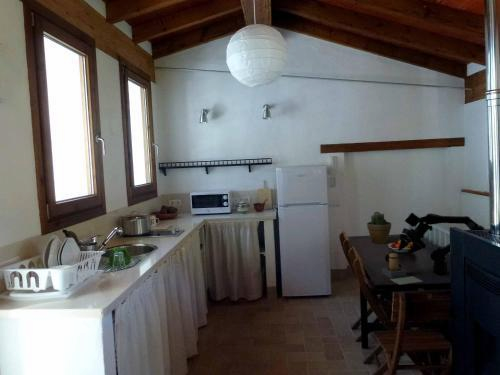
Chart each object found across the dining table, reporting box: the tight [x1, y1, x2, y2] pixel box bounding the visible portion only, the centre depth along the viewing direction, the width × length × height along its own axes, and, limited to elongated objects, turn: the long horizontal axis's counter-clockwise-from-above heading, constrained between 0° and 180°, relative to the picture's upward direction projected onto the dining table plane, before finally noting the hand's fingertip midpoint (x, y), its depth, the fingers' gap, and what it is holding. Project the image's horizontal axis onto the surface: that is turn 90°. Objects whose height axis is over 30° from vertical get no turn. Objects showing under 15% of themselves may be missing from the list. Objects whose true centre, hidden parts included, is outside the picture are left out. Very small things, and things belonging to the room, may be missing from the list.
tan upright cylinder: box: [388, 252, 399, 272], centre depth 225 cm, size 5×5×12 cm
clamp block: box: [381, 266, 408, 279], centre depth 225 cm, size 11×11×4 cm
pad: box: [389, 275, 423, 286], centre depth 214 cm, size 14×9×1 cm, turn 101°
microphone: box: [384, 253, 403, 269], centre depth 246 cm, size 6×6×20 cm
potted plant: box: [366, 211, 392, 245], centre depth 306 cm, size 18×19×25 cm
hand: (403, 252), depth 226 cm, fingers open, 9 cm apart
